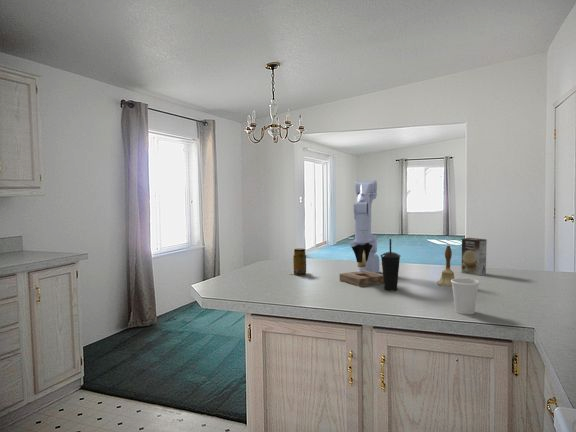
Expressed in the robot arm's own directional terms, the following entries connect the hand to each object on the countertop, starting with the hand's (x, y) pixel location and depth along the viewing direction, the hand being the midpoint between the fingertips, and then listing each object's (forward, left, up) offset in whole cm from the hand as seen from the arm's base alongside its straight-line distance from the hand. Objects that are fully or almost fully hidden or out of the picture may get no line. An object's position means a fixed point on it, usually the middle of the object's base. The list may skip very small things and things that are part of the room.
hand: (362, 261), depth 183 cm
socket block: (0, 0, -9) cm, 9 cm away
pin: (0, 0, -2) cm, 2 cm away
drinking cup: (0, +18, -9) cm, 20 cm away
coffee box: (-54, +13, -9) cm, 56 cm away
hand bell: (-26, +23, -9) cm, 36 cm away
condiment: (+14, -29, -9) cm, 33 cm away
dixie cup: (+1, +54, -9) cm, 55 cm away
